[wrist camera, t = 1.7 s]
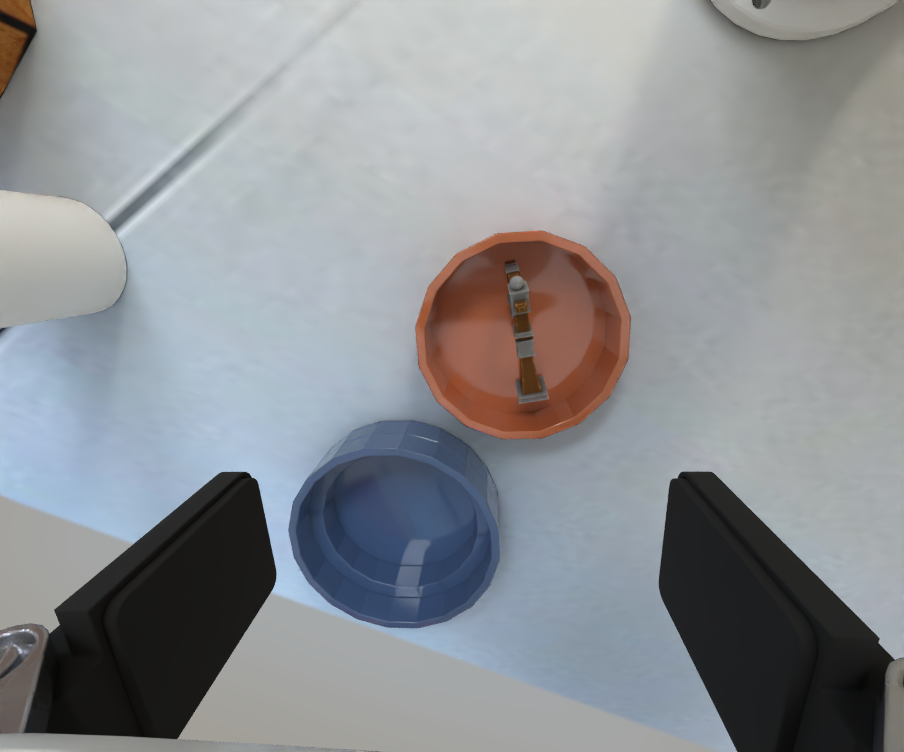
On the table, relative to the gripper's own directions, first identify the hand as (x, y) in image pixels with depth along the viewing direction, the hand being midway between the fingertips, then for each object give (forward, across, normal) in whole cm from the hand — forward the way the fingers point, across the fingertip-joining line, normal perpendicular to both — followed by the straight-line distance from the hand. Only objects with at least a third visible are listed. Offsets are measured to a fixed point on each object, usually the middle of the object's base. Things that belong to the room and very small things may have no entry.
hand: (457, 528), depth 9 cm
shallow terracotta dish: (+18, -2, -1) cm, 18 cm away
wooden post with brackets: (+18, -2, -1) cm, 18 cm away
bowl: (+18, +5, +11) cm, 21 cm away
